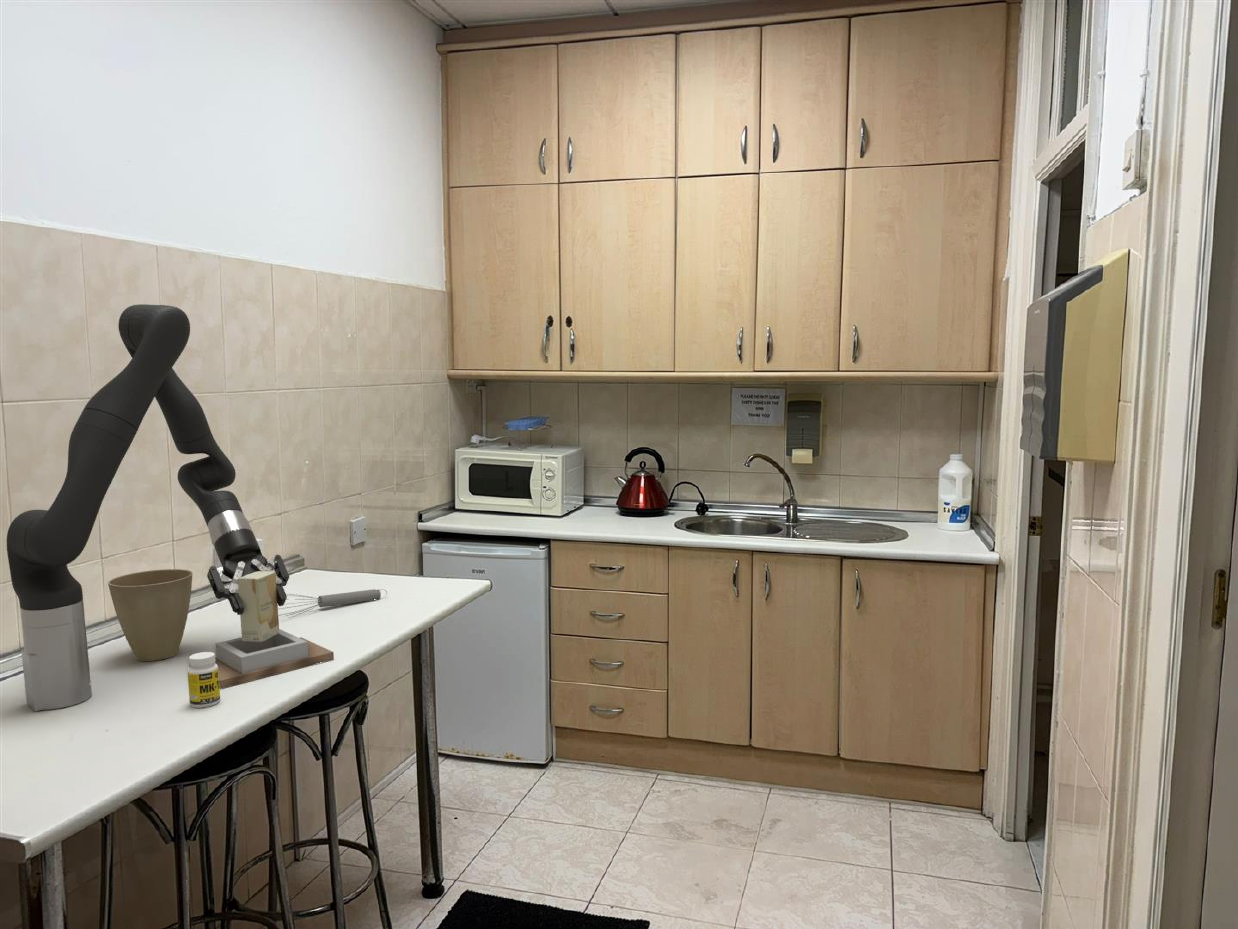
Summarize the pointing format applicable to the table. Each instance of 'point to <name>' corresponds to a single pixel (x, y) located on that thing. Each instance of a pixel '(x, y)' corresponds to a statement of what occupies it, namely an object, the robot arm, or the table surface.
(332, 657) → the board
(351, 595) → the kitchen whisk
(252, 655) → the collar
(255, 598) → the skincare box
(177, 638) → the plant pot
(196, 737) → the table surface
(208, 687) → the supplement bottle
